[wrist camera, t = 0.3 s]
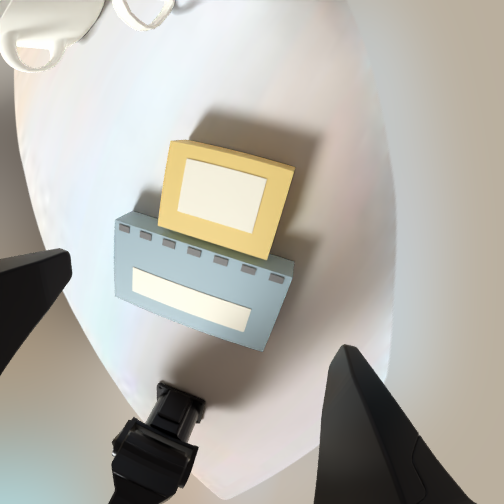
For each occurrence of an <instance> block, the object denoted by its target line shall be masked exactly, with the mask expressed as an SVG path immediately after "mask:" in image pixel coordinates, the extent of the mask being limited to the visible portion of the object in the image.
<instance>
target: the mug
mask: <svg viewBox="0 0 504 504" xmlns="http://www.w3.org/2000/svg"><path fill="white" fill-rule="evenodd" d="M104 2H105V0H0V53H1V55H2V56H3V58H4V60H5V61H6V62H7V63H8V64H9V65H10V66H11V67H13V68H15V69H17V70H19V71H23V72H30V73H35V72H43V71H46V70H49V69H51V68H53V67H54V66H55V65H56V64H58V62H59V61H60V60H61V58H62V57H63V55H64V52H65V49H66V48H67V47H70V46H71V45H73V44H75V43H76V42H77V41H78V40H80V39H81V38H82V37H83V36H84V35H85V34H86V33H87V32H88V30H89V29H90V28H91V27H92V25H93V24H94V23H95V21H96V20H97V18H98V16H99V14H100V12H101V10H102V8H103V5H104ZM17 47H27V48H38V49H47V50H49V51H50V56H51V57H50V61H49V62H48V63H47V64H46V65H45V66H43V67H40V68H32V67H29V66H27V65H26V64H24V63H23V62H22V60H21V59H20V57H19V55H18V52H17Z"/></svg>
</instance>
